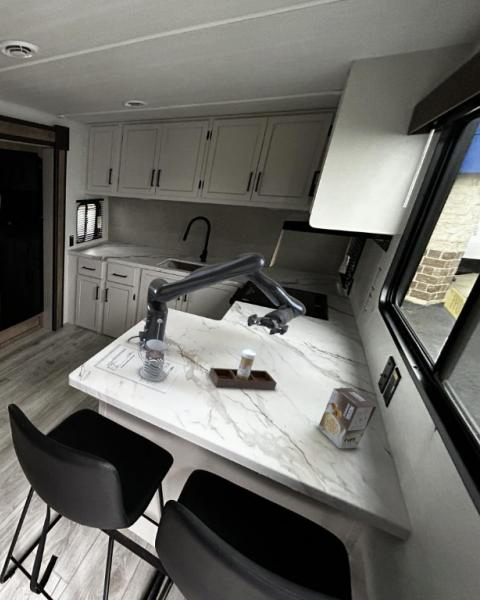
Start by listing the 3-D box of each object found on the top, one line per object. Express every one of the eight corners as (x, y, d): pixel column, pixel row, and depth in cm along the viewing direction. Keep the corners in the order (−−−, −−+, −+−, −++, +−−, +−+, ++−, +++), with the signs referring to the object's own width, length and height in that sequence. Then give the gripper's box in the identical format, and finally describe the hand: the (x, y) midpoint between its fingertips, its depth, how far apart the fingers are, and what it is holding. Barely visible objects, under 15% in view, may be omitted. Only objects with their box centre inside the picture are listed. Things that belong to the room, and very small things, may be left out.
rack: (274, 390, 123) (276, 382, 122) (216, 387, 124) (217, 379, 122) (263, 377, 131) (266, 370, 129) (208, 374, 131) (210, 367, 130)
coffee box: (358, 448, 98) (378, 407, 92) (339, 449, 97) (358, 407, 91) (334, 426, 106) (351, 387, 100) (316, 426, 106) (332, 387, 100)
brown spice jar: (232, 377, 129) (240, 349, 123) (242, 376, 129) (250, 348, 124) (239, 384, 124) (248, 355, 119) (250, 383, 125) (258, 354, 120)
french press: (159, 384, 124) (168, 327, 114) (132, 374, 129) (139, 319, 120) (167, 372, 131) (176, 318, 122) (141, 363, 137) (148, 310, 128)
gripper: (262, 305, 140) (244, 313, 131) (297, 317, 130) (281, 326, 121) (257, 320, 143) (240, 329, 134) (291, 333, 133) (275, 344, 123)
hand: (259, 328), depth 127 cm, fingers open, 8 cm apart
